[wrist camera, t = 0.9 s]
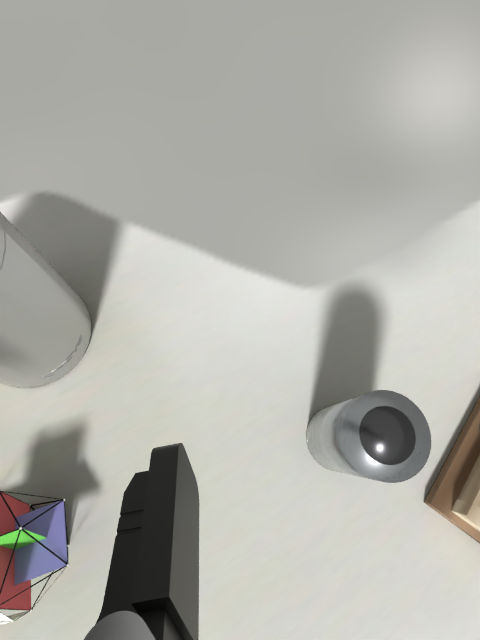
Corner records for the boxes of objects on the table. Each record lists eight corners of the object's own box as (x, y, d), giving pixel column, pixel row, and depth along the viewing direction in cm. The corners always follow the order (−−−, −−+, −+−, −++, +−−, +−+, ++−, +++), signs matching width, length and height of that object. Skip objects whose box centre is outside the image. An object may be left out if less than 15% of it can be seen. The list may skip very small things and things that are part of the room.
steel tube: (294, 444, 32) (326, 444, 22) (327, 394, 33) (372, 372, 23) (347, 484, 31) (404, 502, 21) (379, 431, 32) (447, 425, 23)
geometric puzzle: (-42, 485, 28) (-106, 591, 20) (56, 451, 29) (28, 541, 21) (4, 555, 30) (-38, 672, 23) (93, 522, 31) (79, 624, 24)
